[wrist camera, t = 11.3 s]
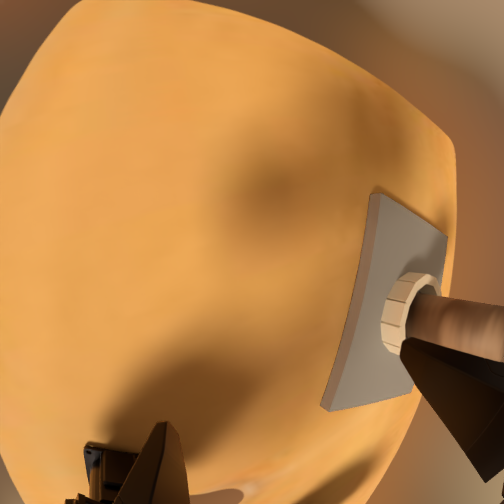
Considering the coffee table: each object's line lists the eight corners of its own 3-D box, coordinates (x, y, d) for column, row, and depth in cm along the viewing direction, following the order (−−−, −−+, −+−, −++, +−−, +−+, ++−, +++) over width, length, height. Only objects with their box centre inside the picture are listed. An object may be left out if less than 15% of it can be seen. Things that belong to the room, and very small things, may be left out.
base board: (403, 389, 30) (423, 398, 27) (319, 405, 24) (344, 423, 20) (439, 236, 31) (462, 236, 28) (370, 194, 25) (400, 189, 22)
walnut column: (402, 342, 27) (498, 371, 15) (386, 320, 25) (498, 349, 13) (421, 306, 28) (514, 325, 16) (407, 282, 26) (513, 296, 14)
